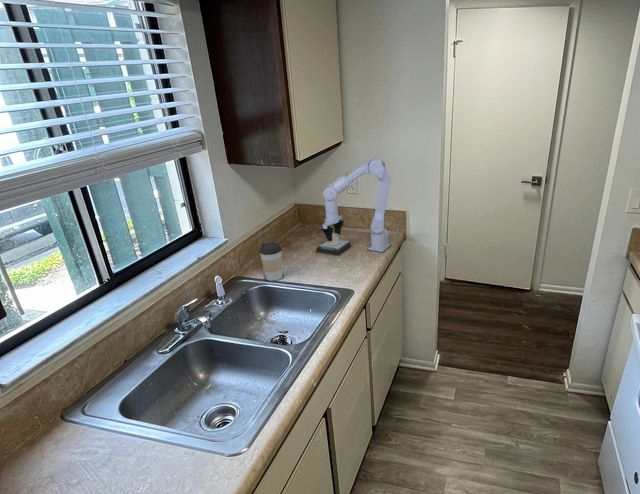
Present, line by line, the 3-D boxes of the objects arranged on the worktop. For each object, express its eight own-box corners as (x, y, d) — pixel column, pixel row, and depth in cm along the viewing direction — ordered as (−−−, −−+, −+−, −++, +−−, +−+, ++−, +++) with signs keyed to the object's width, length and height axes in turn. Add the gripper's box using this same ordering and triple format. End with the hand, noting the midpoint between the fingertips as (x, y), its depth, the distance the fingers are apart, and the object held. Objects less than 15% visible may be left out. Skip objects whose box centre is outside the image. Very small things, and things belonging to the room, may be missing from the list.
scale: (329, 242, 221) (329, 237, 220) (350, 246, 217) (350, 241, 216) (316, 251, 211) (316, 246, 210) (338, 255, 207) (337, 250, 206)
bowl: (331, 240, 217) (331, 232, 215) (341, 242, 215) (341, 234, 213) (326, 244, 212) (325, 236, 210) (335, 246, 210) (335, 238, 209)
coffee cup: (288, 272, 190) (284, 241, 184) (280, 282, 182) (276, 249, 176) (268, 271, 191) (263, 240, 185) (259, 281, 183) (254, 248, 177)
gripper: (332, 206, 214) (334, 231, 220) (316, 215, 202) (318, 242, 208) (344, 207, 212) (346, 233, 217) (329, 216, 200) (331, 244, 205)
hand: (333, 237), depth 212 cm, fingers open, 7 cm apart
